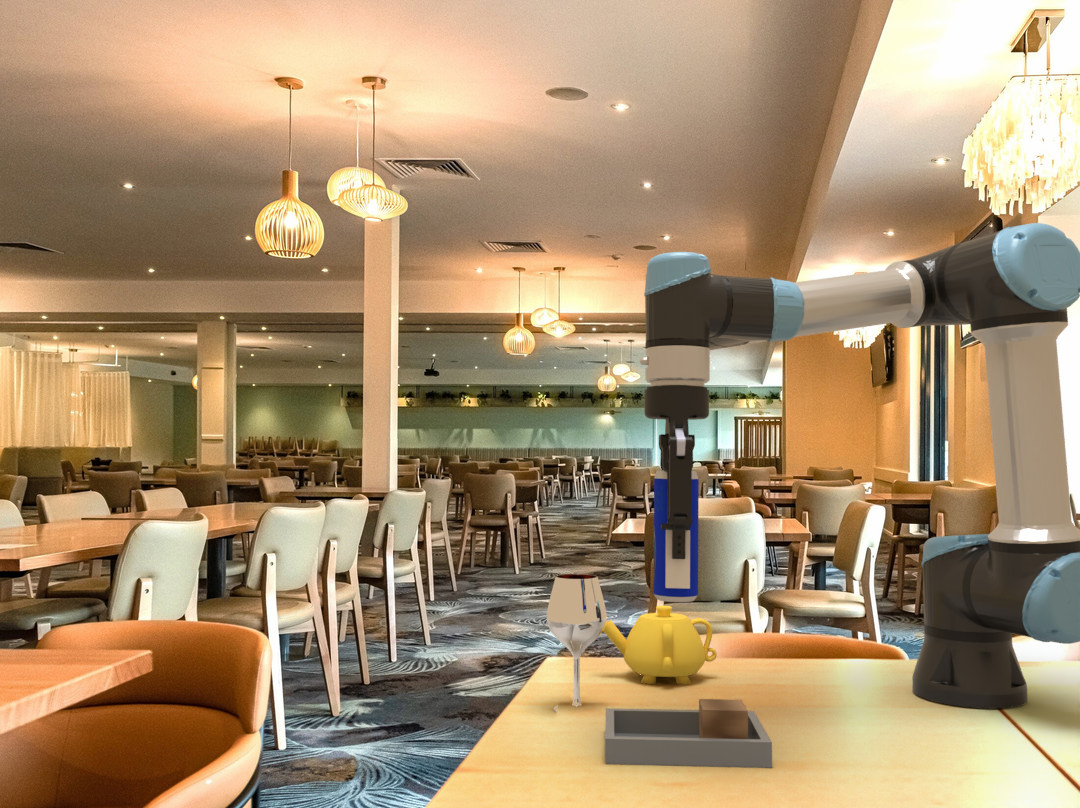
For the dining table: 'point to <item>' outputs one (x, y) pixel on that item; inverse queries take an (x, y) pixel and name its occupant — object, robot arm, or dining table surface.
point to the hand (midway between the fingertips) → (675, 584)
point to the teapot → (663, 645)
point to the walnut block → (723, 719)
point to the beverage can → (660, 543)
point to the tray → (679, 741)
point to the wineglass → (576, 617)
